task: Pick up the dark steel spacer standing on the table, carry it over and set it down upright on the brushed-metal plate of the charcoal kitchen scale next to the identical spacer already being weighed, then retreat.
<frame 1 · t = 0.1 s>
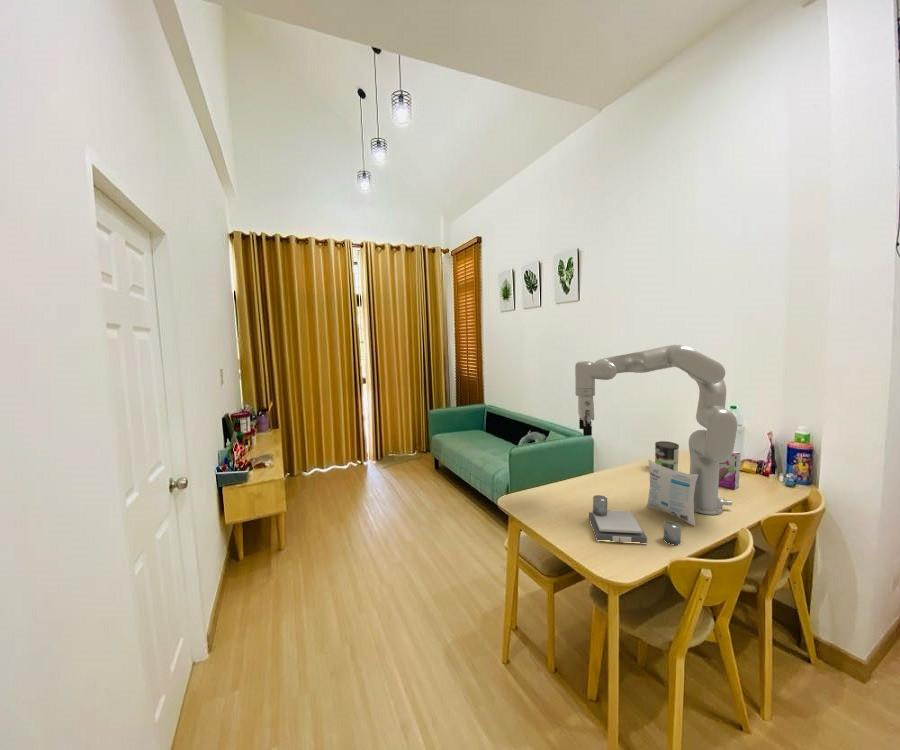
hand: (585, 432, 153), 31 cm above the table, fingers open, 9 cm apart
coffee can: (666, 471, 185), on the table
scale: (615, 530, 135), on the table
spacer b: (600, 513, 139), point 4 cm above the table, touching scale
spacer a: (672, 541, 127), on the table
pouch: (670, 516, 143), on the table
candy bar box: (722, 485, 167), on the table
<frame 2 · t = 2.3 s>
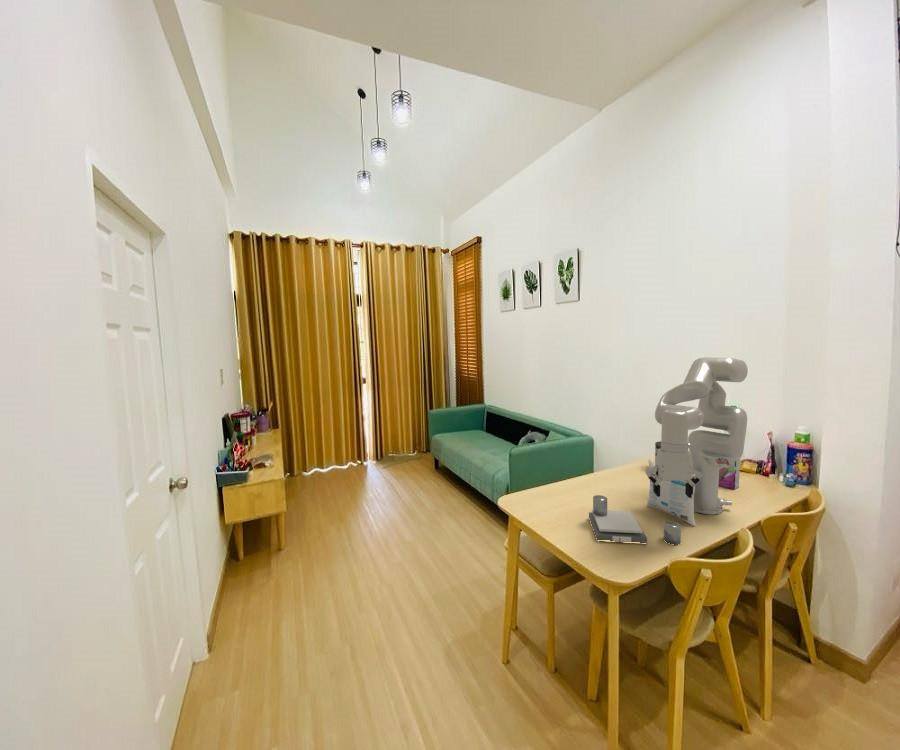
hand: (672, 495, 124), 17 cm above the table, fingers open, 9 cm apart
nothing on the table moved.
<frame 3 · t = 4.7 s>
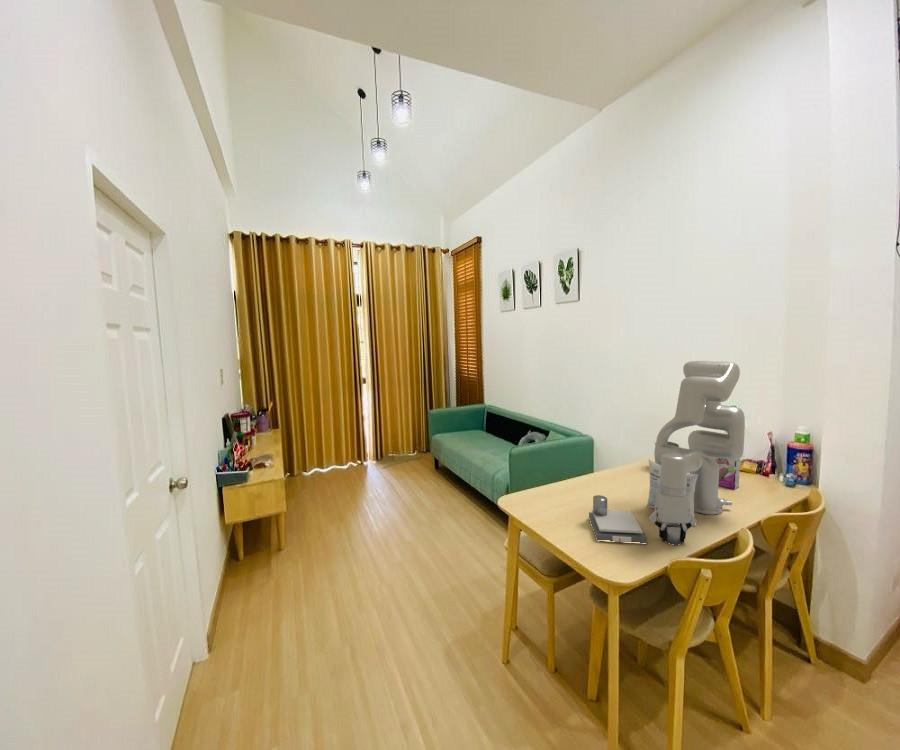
hand: (672, 539, 126), 1 cm above the table, fingers closed on spacer a, 5 cm apart
spacer a: (672, 541, 127), on the table, touching gripper
everything else where it was.
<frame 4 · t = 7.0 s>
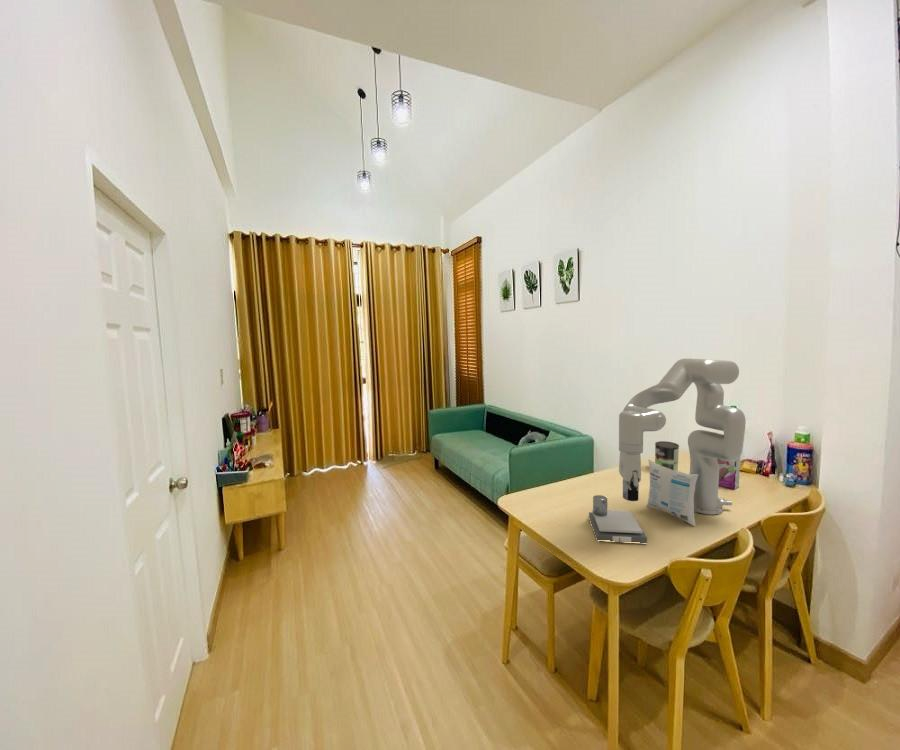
hand: (630, 496, 129), 15 cm above the table, fingers closed on spacer a, 5 cm apart
spacer a: (630, 497, 129), point 14 cm above the table, touching gripper
everything else where it was.
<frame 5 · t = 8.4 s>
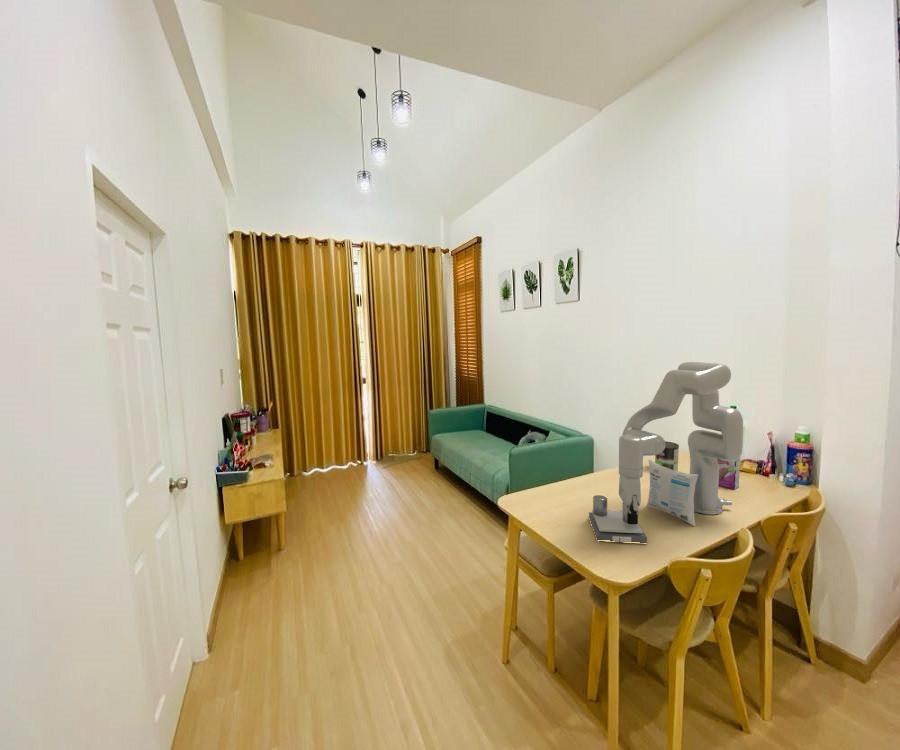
hand: (630, 519, 130), 6 cm above the table, fingers closed on spacer a, 5 cm apart
spacer a: (630, 520, 130), point 6 cm above the table, touching gripper
everything else where it was.
when the fingers open (5 cm above the table, at t = 9.4 s): spacer a stays where it is, resting on scale.
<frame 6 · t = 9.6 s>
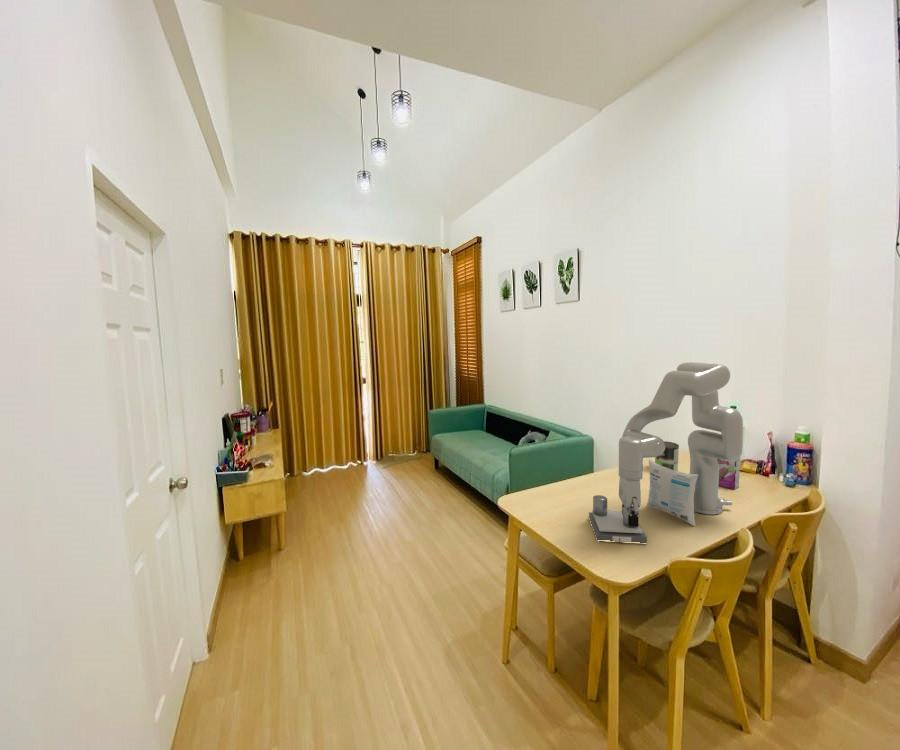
hand: (630, 520, 130), 6 cm above the table, fingers open, 7 cm apart
spacer a: (630, 524, 130), point 4 cm above the table, touching scale
everything else where it was.
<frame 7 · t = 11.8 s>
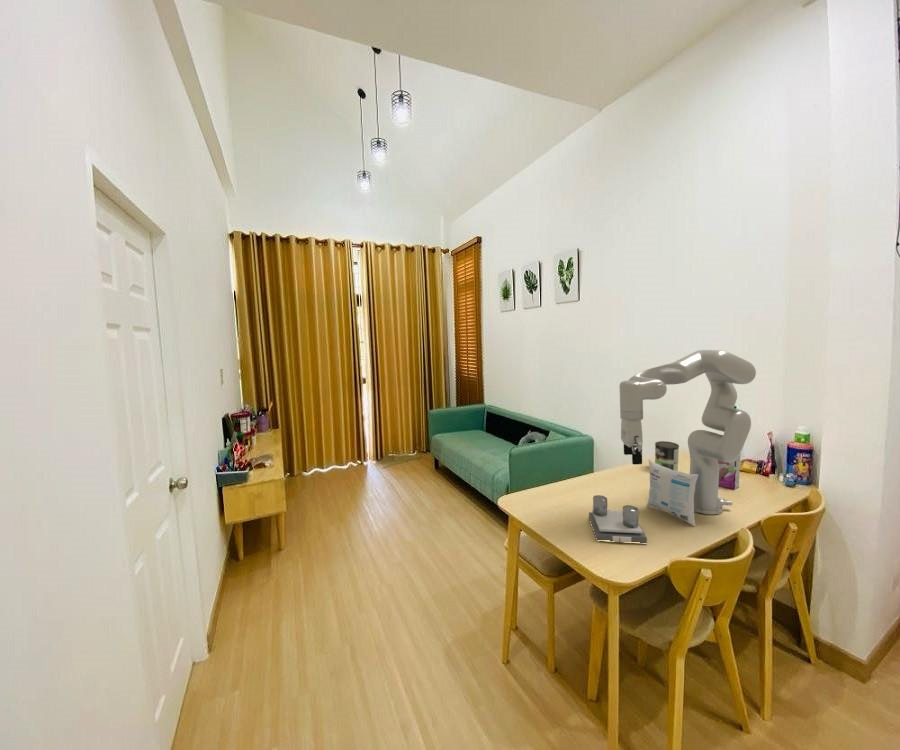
hand: (632, 459, 136), 25 cm above the table, fingers open, 9 cm apart
nothing on the table moved.
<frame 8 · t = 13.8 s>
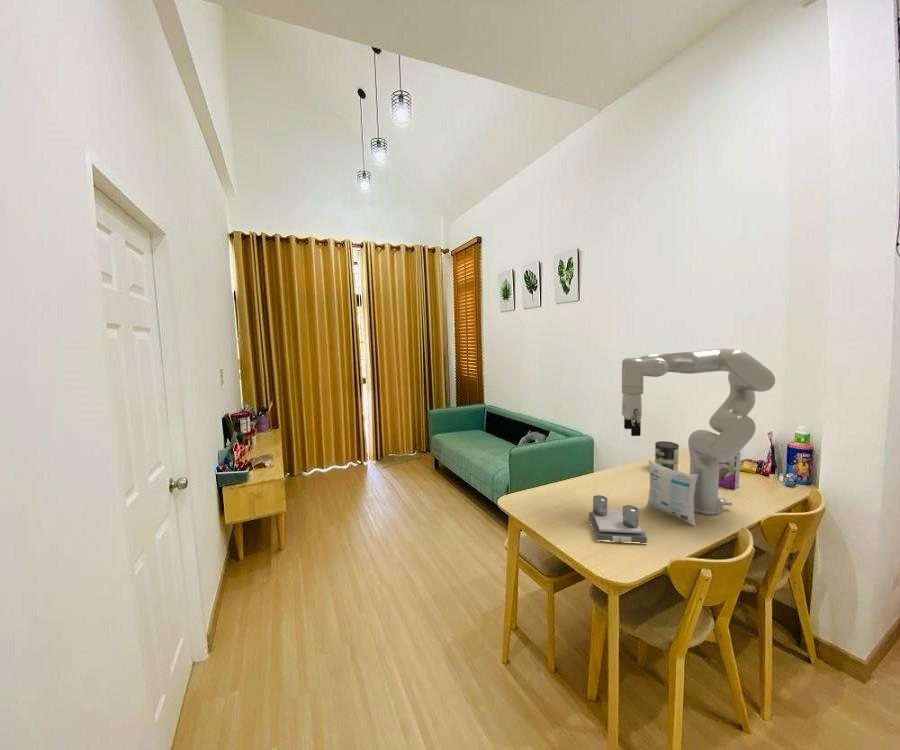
hand: (632, 432, 145), 32 cm above the table, fingers open, 9 cm apart
nothing on the table moved.
at the end: spacer a inside the target area on the scale (5.1 cm from its centre), point 4.2 cm above the scale's base; spacer a tilted 0°; spacer b moved 0.0 cm from its start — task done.
